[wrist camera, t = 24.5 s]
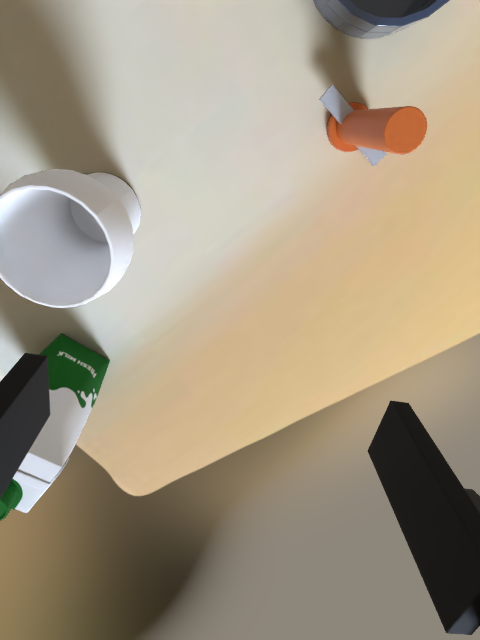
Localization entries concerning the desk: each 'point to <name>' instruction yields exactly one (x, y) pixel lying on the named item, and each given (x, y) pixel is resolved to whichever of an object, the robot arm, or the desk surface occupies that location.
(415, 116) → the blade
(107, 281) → the cup
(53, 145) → the desk surface
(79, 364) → the milk carton
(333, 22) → the bowl
